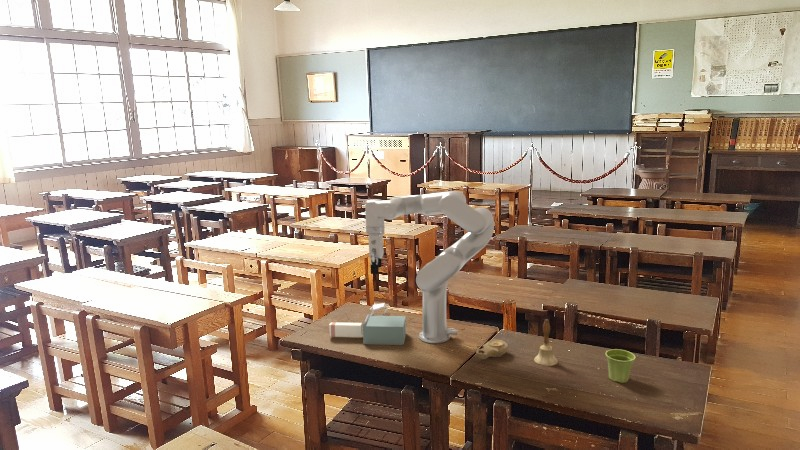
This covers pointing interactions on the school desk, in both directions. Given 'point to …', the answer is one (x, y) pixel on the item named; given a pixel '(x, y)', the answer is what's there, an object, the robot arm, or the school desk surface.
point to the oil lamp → (492, 349)
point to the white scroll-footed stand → (378, 307)
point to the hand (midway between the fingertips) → (376, 270)
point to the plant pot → (619, 364)
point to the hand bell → (546, 349)
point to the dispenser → (384, 330)
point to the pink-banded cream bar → (345, 329)
